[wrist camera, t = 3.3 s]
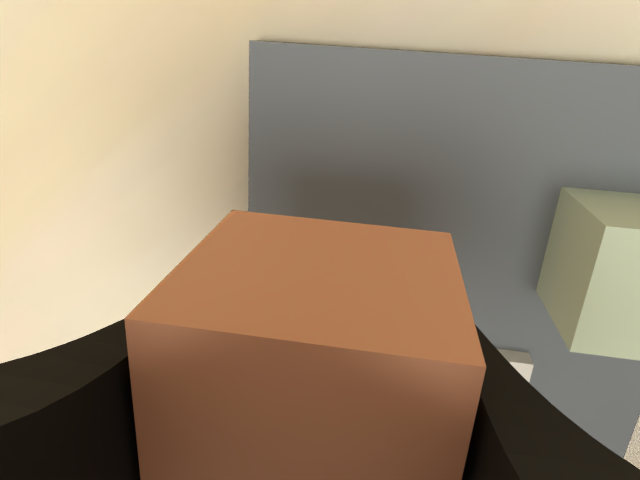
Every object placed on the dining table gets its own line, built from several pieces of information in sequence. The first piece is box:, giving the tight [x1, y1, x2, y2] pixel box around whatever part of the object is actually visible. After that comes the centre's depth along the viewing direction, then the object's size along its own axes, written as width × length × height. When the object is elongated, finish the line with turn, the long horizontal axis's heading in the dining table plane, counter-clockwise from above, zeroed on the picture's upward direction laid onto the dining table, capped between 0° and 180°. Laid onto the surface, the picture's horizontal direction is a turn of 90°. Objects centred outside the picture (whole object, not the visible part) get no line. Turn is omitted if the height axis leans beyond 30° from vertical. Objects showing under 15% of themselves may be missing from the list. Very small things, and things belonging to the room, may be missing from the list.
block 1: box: [124, 210, 486, 480], centre depth 10 cm, size 5×5×5 cm
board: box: [249, 41, 640, 458], centre depth 20 cm, size 22×16×2 cm
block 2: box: [536, 187, 640, 361], centre depth 16 cm, size 4×4×4 cm
